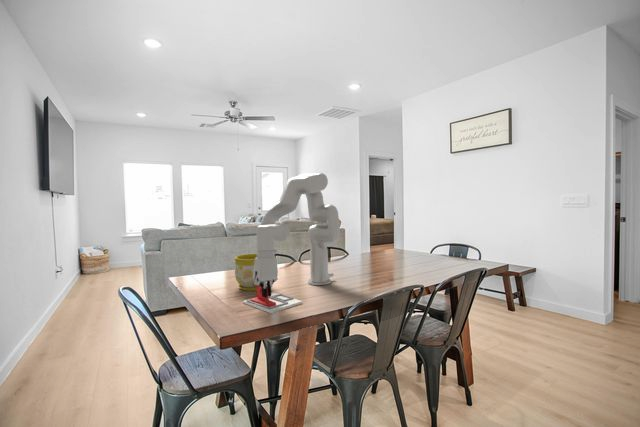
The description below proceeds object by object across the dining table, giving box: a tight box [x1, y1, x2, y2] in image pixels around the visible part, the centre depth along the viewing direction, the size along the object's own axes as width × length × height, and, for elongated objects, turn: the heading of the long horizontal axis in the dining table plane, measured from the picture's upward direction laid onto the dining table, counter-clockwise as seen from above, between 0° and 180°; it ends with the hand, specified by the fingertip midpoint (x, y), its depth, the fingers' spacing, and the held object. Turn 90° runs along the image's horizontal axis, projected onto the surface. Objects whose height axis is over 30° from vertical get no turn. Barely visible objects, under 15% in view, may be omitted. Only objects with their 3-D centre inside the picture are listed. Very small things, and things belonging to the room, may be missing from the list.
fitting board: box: [242, 292, 303, 314], centre depth 146 cm, size 17×20×2 cm
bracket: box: [250, 285, 276, 307], centre depth 143 cm, size 12×4×8 cm, turn 45°
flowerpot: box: [233, 253, 267, 292], centre depth 173 cm, size 18×18×16 cm
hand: (266, 296), depth 144 cm, fingers closed on bracket, 1 cm apart
